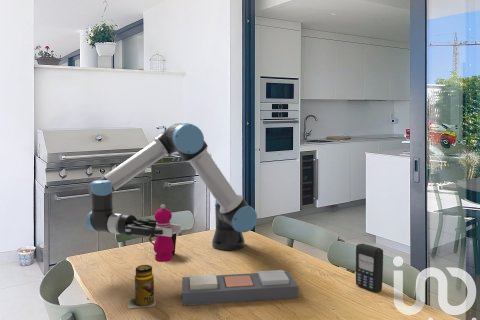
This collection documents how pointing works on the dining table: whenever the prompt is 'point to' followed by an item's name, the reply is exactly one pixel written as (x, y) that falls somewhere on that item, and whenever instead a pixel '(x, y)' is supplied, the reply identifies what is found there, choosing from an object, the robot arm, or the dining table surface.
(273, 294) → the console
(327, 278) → the dining table surface
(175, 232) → the coffee mug
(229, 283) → the key terracotta
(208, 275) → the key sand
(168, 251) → the pepper mill
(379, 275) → the card reader
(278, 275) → the key grey
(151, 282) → the condiment
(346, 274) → the dining table surface
